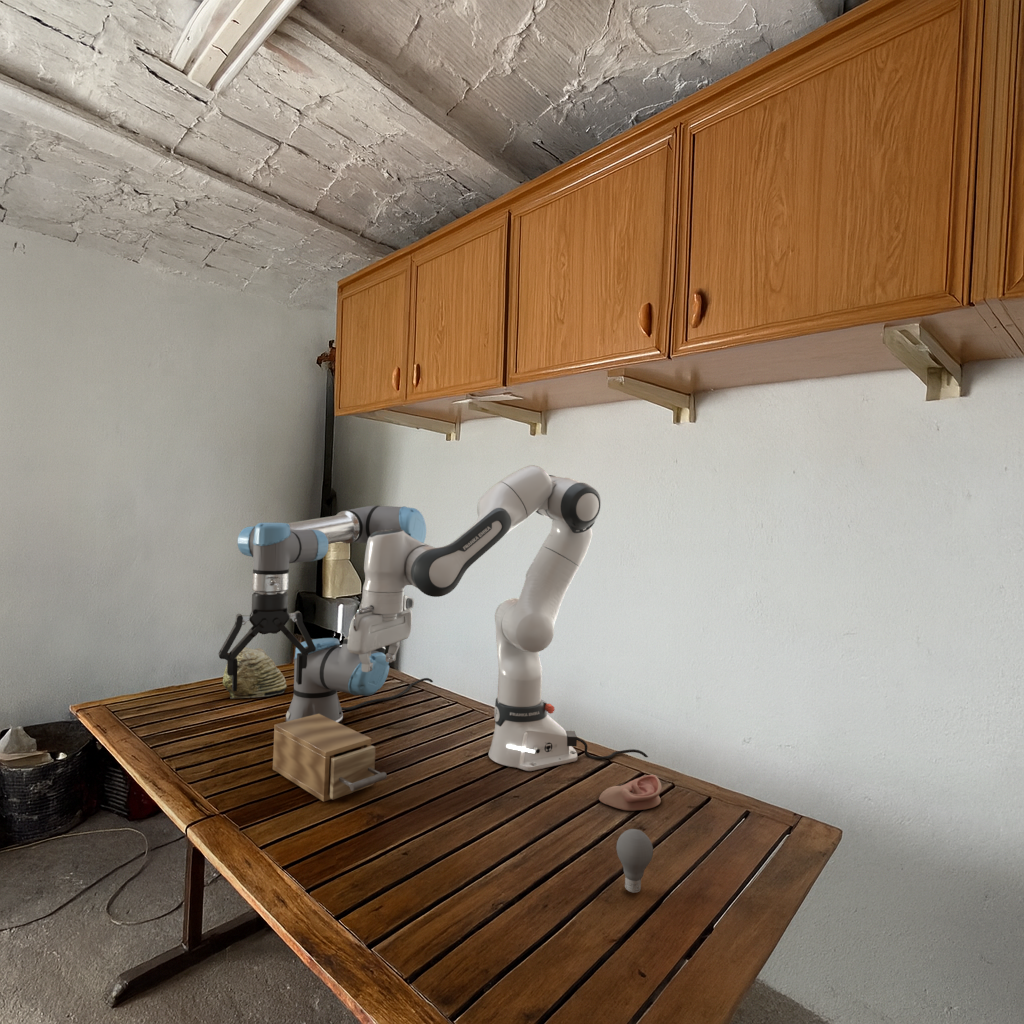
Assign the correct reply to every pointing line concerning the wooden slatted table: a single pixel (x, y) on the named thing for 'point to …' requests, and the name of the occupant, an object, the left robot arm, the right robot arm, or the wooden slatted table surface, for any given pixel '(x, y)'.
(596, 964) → the wooden slatted table surface
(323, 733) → the cabinet
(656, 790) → the anatomical model
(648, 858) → the light bulb
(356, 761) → the drawer
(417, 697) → the wooden slatted table surface
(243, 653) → the fossil
